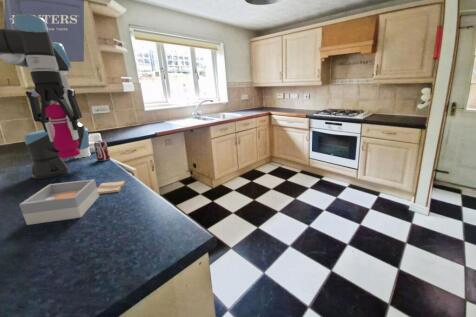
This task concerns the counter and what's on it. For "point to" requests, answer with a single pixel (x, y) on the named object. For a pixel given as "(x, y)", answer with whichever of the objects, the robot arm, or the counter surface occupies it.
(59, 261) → the counter surface
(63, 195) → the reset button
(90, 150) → the bracket
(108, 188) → the cork mat
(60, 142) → the pepper mill
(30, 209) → the grey open box
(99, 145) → the soda can
